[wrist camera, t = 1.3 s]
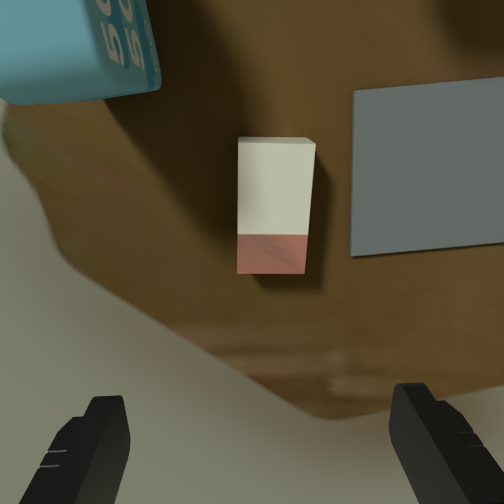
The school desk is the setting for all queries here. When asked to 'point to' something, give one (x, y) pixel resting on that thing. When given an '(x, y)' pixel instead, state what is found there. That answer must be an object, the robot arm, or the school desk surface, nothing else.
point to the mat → (427, 166)
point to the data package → (75, 50)
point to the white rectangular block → (273, 204)
